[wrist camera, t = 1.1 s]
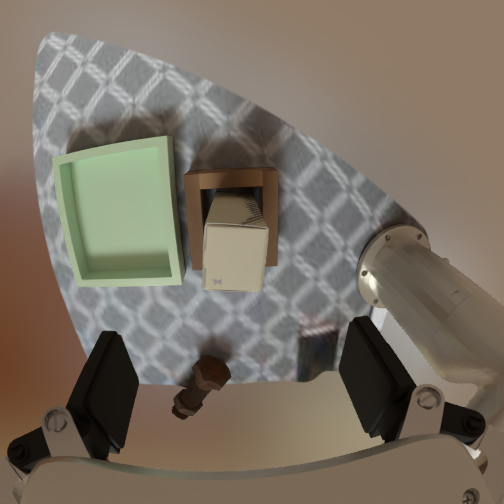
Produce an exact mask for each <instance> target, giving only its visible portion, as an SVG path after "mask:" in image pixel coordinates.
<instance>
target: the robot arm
mask: <svg viewBox="0 0 504 504" xmlns="http://www.w3.org/2000/svg"><path fill="white" fill-rule="evenodd" d="M356 282H357V288H358V290H359V292H360V294H361V296H362V297H363V298H364V300H365V301H366V302H367V303H368V304H370V305H372V306H374V307H378V308H386V309H387V310H388V311H389V312H390V314H391V315H392V316H393V317H394V318H395V320H396V321H397V322H398V323H399V325H400V326H401V327H402V329H403V330H404V331H405V332H406V334H407V335H408V336H409V337H410V339H411V340H412V341H413V343H414V344H415V345H416V346H417V348H418V349H419V351H420V352H421V353H422V355H423V356H424V357H425V359H426V360H427V361H428V363H429V364H430V365H431V367H432V368H433V370H434V371H435V372H436V373H437V375H439V376H440V377H441V378H442V379H444V380H446V381H448V382H451V383H472V384H476V385H477V386H478V390H477V392H476V394H475V395H474V397H473V398H472V399H471V400H470V401H469V403H468V404H467V405H466V406H465V407H461V406H458V405H454V404H451V403H448V402H445V398H444V395H443V393H442V391H441V390H440V389H439V388H437V387H436V386H433V385H430V384H423V385H420V386H418V387H417V386H416V384H415V383H414V381H413V380H412V378H411V377H410V375H409V373H408V372H407V370H406V369H405V367H404V366H403V364H402V363H401V361H400V360H399V358H398V357H397V355H396V354H395V353H394V351H393V349H392V348H391V346H390V345H389V344H388V343H387V342H386V341H385V339H384V338H383V336H382V335H381V334H380V332H379V331H378V329H377V328H376V326H375V325H374V324H373V322H372V321H371V319H370V318H369V317H368V316H361V317H355V318H354V319H353V321H351V322H350V323H349V326H348V331H347V335H346V340H345V344H344V348H343V352H342V356H341V360H340V364H339V373H340V375H341V378H342V380H343V382H344V384H345V387H346V389H347V391H348V394H349V396H350V398H351V401H352V403H353V406H354V408H355V410H356V413H357V415H358V417H359V420H360V422H361V424H362V427H363V429H364V431H365V433H369V435H370V437H371V438H373V437H376V436H379V435H381V437H382V440H383V442H382V445H379V446H375V447H372V448H369V449H365V450H362V451H358V452H355V453H350V454H346V455H343V456H339V457H334V458H330V459H326V460H321V461H316V462H311V463H305V464H300V465H293V466H286V467H279V468H270V469H260V470H248V471H224V472H201V471H200V472H199V471H178V470H165V469H155V468H147V467H140V466H132V465H126V464H119V463H114V462H110V461H109V460H108V458H107V457H108V454H109V452H110V453H116V454H119V452H120V448H123V447H124V445H125V440H126V435H127V431H128V427H129V422H130V418H131V413H132V410H133V405H134V402H135V397H136V394H137V390H138V386H139V379H138V376H137V374H136V372H135V369H134V367H133V365H132V362H131V360H130V357H129V355H128V352H127V350H126V347H125V344H124V342H123V339H122V337H121V335H118V333H117V332H116V331H102V333H101V334H100V336H99V338H98V340H97V342H96V344H95V346H94V348H93V350H92V352H91V354H90V356H89V358H88V361H87V362H86V363H85V365H84V367H83V370H82V372H81V374H80V376H79V378H78V380H77V383H76V385H75V387H74V389H73V392H72V394H71V396H70V398H69V401H68V403H67V406H66V408H64V407H61V406H56V407H52V408H50V409H48V410H47V411H46V412H45V413H44V415H43V416H42V420H41V427H40V428H37V429H35V430H34V431H31V432H29V433H27V434H25V435H23V436H21V437H19V438H17V439H15V440H13V441H12V442H11V443H10V444H9V447H8V450H7V454H8V456H7V457H5V456H3V457H2V458H1V459H0V504H504V306H503V305H502V304H500V303H499V302H498V301H497V300H496V299H494V298H493V297H492V296H491V295H490V294H488V293H487V292H486V291H485V290H483V289H482V288H481V287H479V286H478V285H477V284H476V283H474V282H473V281H472V280H471V279H469V278H468V277H467V276H465V275H464V274H462V273H461V272H460V271H458V270H457V269H456V268H454V267H453V266H452V265H450V264H449V260H448V259H447V258H441V257H439V256H438V255H436V254H435V253H433V252H432V251H431V248H430V243H429V241H428V239H427V237H426V236H425V235H424V233H423V232H422V231H420V230H419V229H417V228H415V227H414V226H411V225H407V224H398V225H394V226H391V227H388V228H386V229H384V230H383V231H381V232H380V233H379V234H377V235H376V236H375V237H374V238H373V239H372V240H371V241H370V243H369V244H368V245H367V247H366V248H365V250H364V251H363V253H362V255H361V257H360V260H359V263H358V266H357V272H356Z"/></svg>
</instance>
